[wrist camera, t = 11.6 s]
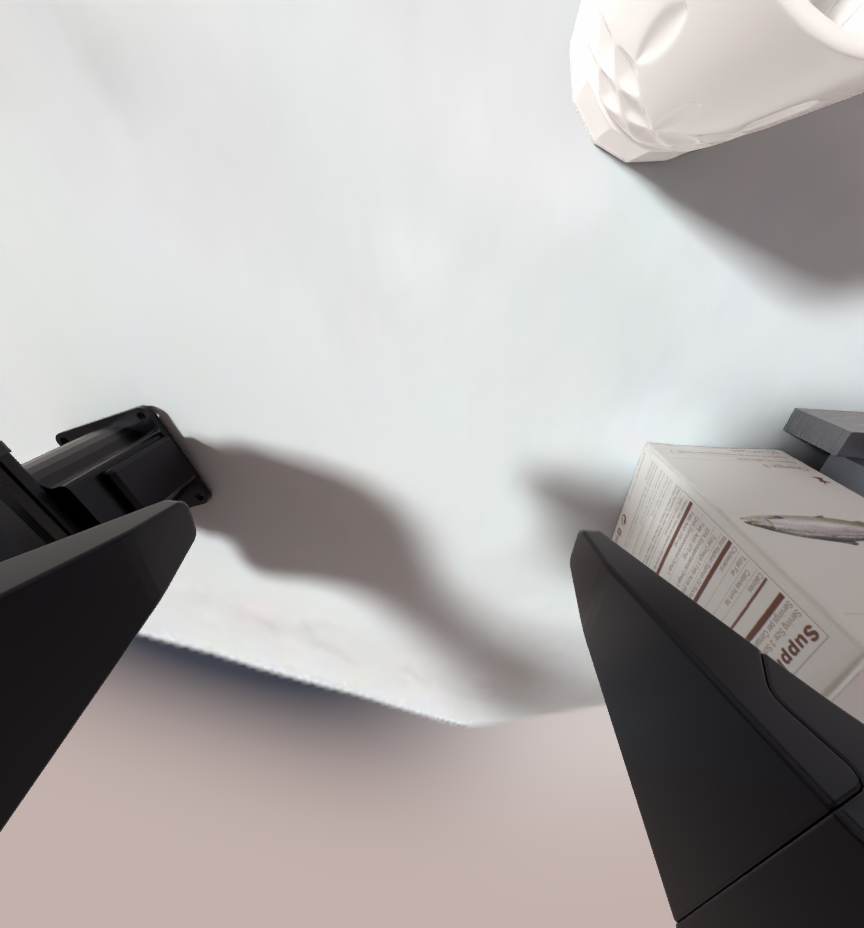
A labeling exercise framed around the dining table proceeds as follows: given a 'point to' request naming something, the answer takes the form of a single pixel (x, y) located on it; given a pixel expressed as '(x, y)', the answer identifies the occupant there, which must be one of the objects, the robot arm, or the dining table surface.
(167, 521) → the robot arm
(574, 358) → the dining table surface
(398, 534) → the dining table surface
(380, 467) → the dining table surface
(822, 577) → the supplement box
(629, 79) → the white cup
